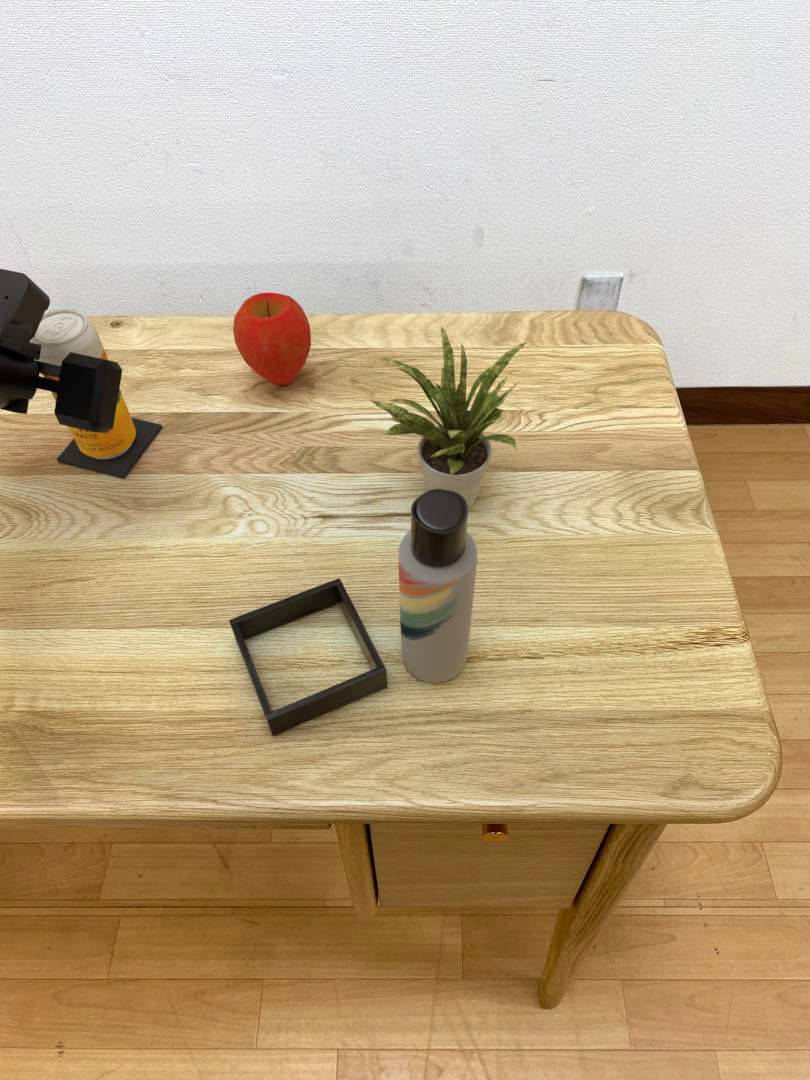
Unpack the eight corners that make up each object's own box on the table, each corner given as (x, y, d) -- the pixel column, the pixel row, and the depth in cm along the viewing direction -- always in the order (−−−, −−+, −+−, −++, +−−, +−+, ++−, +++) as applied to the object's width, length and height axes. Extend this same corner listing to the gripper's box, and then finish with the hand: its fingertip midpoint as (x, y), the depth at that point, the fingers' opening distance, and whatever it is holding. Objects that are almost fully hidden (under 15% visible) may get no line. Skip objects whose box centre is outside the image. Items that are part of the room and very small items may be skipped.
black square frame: (272, 736, 62) (267, 720, 60) (235, 637, 68) (228, 619, 65) (387, 687, 65) (386, 670, 62) (342, 596, 70) (339, 577, 68)
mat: (124, 479, 80) (123, 475, 79) (58, 462, 81) (56, 459, 81) (162, 427, 84) (161, 424, 84) (98, 412, 86) (97, 409, 85)
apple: (228, 381, 89) (208, 301, 80) (284, 347, 93) (270, 267, 84) (277, 416, 85) (261, 336, 77) (332, 379, 89) (324, 298, 80)
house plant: (455, 416, 85) (462, 287, 72) (553, 481, 79) (580, 353, 66) (359, 484, 79) (348, 356, 66) (458, 560, 73) (467, 436, 60)
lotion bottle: (447, 617, 69) (457, 463, 53) (478, 668, 66) (498, 520, 50) (390, 642, 67) (382, 491, 52) (419, 695, 64) (420, 551, 48)
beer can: (67, 449, 82) (8, 333, 70) (108, 415, 85) (58, 298, 73) (110, 471, 80) (56, 354, 68) (150, 435, 83) (105, 318, 71)
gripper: (69, 282, 57) (176, 320, 72) (-135, 242, 61) (7, 287, 76) (48, 430, 59) (157, 437, 74) (-150, 382, 62) (-8, 399, 77)
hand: (77, 386), depth 75 cm, fingers open, 9 cm apart
